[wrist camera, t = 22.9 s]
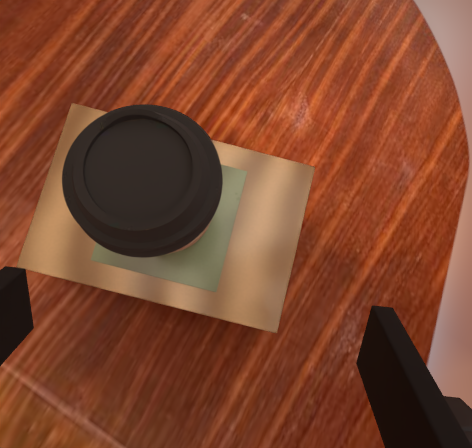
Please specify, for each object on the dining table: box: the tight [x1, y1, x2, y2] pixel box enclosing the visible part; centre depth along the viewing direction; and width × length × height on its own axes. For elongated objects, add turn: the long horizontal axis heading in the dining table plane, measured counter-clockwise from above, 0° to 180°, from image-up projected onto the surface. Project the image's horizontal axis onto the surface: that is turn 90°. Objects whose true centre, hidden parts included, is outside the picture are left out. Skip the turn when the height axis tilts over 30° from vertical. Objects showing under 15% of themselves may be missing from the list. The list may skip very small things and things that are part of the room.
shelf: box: [16, 103, 315, 333], centre depth 39 cm, size 24×16×9 cm, turn 76°
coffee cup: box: [62, 105, 223, 258], centre depth 27 cm, size 9×9×15 cm
